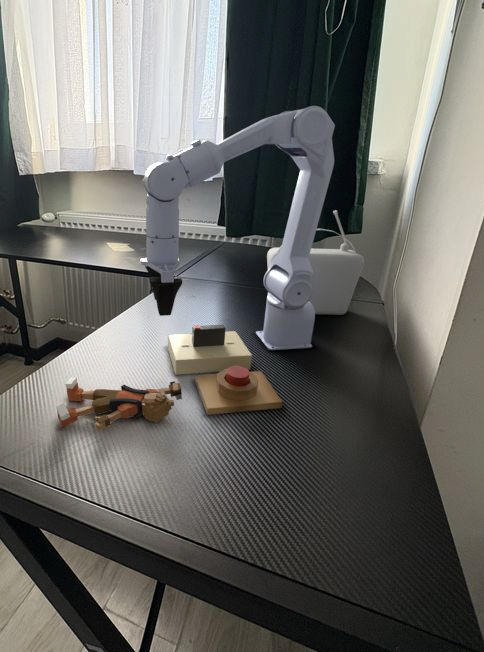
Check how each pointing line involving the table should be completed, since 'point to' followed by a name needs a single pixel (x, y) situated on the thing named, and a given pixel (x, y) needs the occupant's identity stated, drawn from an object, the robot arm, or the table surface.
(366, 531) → the table surface
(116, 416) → the character figurine
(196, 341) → the dark grey block
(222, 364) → the panel
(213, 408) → the button block
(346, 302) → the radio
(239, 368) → the button
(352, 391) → the table surface
